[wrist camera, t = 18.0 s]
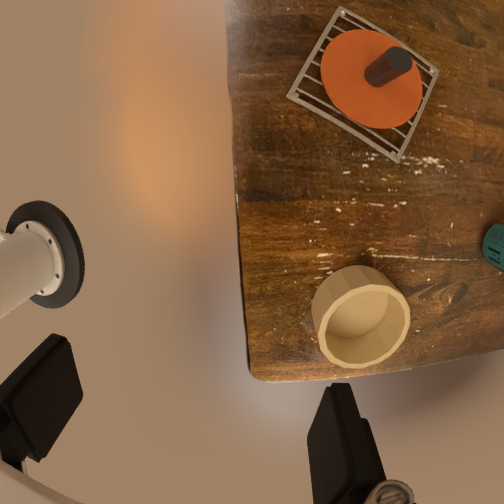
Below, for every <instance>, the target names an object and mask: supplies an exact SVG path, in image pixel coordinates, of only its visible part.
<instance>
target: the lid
mask: <svg viewBox="0 0 504 504" xmlns="http://www.w3.org/2000/svg"><path fill="white" fill-rule="evenodd" d="M320 72H321V79H322V83H323V86H324V89H325V91H326V93H327V95H328V97H329V98H330V100H331V101H332V103H333V104H334V105H335V106H336V107H337V109H338V110H339V111H341V112H342V113H343V114H344V115H345V116H347V117H348V118H349V119H351V120H353V121H354V122H356V123H358V124H360V125H363V126H366V127H369V128H374V129H389V128H393V127H397V126H400V125H402V124H404V123H405V122H407V121H408V120H409V119H411V118H412V116H413V115H414V114H415V113H416V111H417V109H418V107H419V105H420V102H421V98H422V80H421V76H420V73H419V70H418V68H417V65H416V64H415V62H414V60H413V59H412V57H411V56H410V54H409V53H408V52H407V51H406V50H405V49H404V48H403V47H402V46H401V45H400V44H399V43H398V42H396V41H395V40H393V39H392V38H390V37H388V36H386V35H384V34H382V33H379V32H376V31H372V30H366V29H356V30H350V31H347V32H344V33H342V34H340V35H338V36H337V37H335V38H334V39H333V40H332V41H331V42H330V43H329V44H328V46H327V47H326V49H325V51H324V53H323V56H322V59H321V65H320Z"/></svg>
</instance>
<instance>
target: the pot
mask: <svg viewBox="0 0 504 504" xmlns="http://www.w3.org/2000/svg"><path fill="white" fill-rule="evenodd" d="M311 313H312V318H313V322H314V326H315V330H316V334H317V338H318V341H319V345H320V349H321V351H322V352H323V353H324V355H325V356H326V357H327V358H328V359H329V361H330V362H332V363H334V364H337V365H339V366H341V367H344V368H364V367H368V366H371V365H374V364H377V363H379V362H381V361H383V360H384V359H386V358H387V357H389V356H390V355H391V354H393V353H394V352H395V350H396V349H397V348H398V347H399V346H400V344H401V343H402V342H403V341H404V339H405V336H406V334H407V331H408V329H409V326H410V308H409V306H408V304H407V302H406V300H405V298H404V296H403V295H402V294H401V292H400V291H399V290H398V289H397V288H396V287H395V286H394V285H393V284H392V283H391V282H390V281H389V280H388V279H387V277H386V276H384V275H383V274H382V273H380V272H379V271H378V270H376V269H374V268H371V267H368V266H363V265H354V266H348V267H345V268H342V269H340V270H338V271H336V272H334V273H332V274H331V275H330V276H328V277H327V278H326V279H325V280H324V281H323V282H322V283H321V285H320V286H319V287H318V289H317V291H316V293H315V295H314V298H313V301H312V309H311Z"/></svg>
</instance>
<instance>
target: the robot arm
mask: <svg viewBox="0 0 504 504" xmlns="http://www.w3.org/2000/svg"><path fill="white" fill-rule="evenodd" d="M64 273H65V263H64V257H63V253H62V250H61V247H60V244H59V242H58V240H57V238H56V237H55V235H54V234H53V232H52V231H51V230H50V229H49V228H48V227H47V226H46V225H44V224H43V223H41V222H39V221H35V220H30V221H26V222H23V223H22V224H20V225H19V226H18V227H17V228H16V230H15V231H14V233H13V234H10V233H5V232H4V231H3V230H2V229H0V319H1V318H3V317H4V316H5V315H7V314H8V313H9V312H11V311H12V310H13V309H15V308H16V307H18V306H19V305H20V304H22V303H23V302H24V301H26V300H27V299H28V298H30V297H31V296H33V295H34V294H39V295H44V296H45V295H50V294H52V293H54V292H55V291H56V290H57V289H58V288H59V287H60V286H61V284H62V282H63V278H64ZM82 398H83V391H82V388H81V384H80V381H79V377H78V374H77V369H76V365H75V361H74V357H73V353H72V349H71V345H70V343H69V342H68V340H67V338H66V337H63V336H60V335H57V334H54V333H53V334H51V335H50V336H49V337H48V338H47V339H45V341H43V342H42V343H41V344H40V345H39V346H38V347H37V348H36V349H35V350H34V351H33V352H32V353H31V354H30V355H29V356H28V357H27V358H26V359H25V360H24V361H23V362H22V363H21V364H20V365H19V366H18V367H17V368H16V369H15V370H14V371H13V372H12V373H11V374H10V375H9V377H8V378H7V379H6V380H5V381H4V382H3V383H2V384H1V385H0V504H82V503H80V502H77V501H75V500H73V499H71V498H69V497H66V496H64V495H62V494H60V493H58V492H56V491H54V490H52V489H50V488H48V487H47V486H45V485H43V484H41V483H39V482H37V481H35V480H34V479H32V478H30V477H29V476H28V473H27V468H26V464H25V458H26V456H28V457H29V458H31V459H33V460H34V461H36V462H38V463H39V462H40V460H41V459H42V458H45V457H46V456H47V454H48V452H49V451H50V449H51V448H52V446H53V444H54V443H55V441H56V440H57V438H58V436H59V435H60V433H61V432H62V430H63V428H64V427H65V425H66V424H67V422H68V421H69V419H70V418H71V416H72V415H73V413H74V411H75V410H76V408H77V407H78V405H79V404H80V402H81V401H82ZM307 446H308V455H309V464H310V473H311V482H312V492H313V501H314V502H313V503H314V504H416V503H414V494H413V492H412V489H411V488H410V487H409V486H408V485H407V484H405V483H404V482H401V481H398V480H387V479H386V476H385V473H384V469H383V466H382V463H381V459H380V456H379V453H378V450H377V447H376V443H375V440H374V437H373V434H372V431H371V428H370V425H369V422H368V420H367V419H366V418H361V417H360V414H359V411H358V408H357V404H356V401H355V398H354V395H353V392H352V389H351V386H350V384H349V383H332V385H331V387H326V389H325V391H324V394H323V397H322V400H321V402H320V405H319V407H318V410H317V413H316V415H315V418H314V420H313V423H312V425H311V428H310V430H309V433H308V436H307Z"/></svg>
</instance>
